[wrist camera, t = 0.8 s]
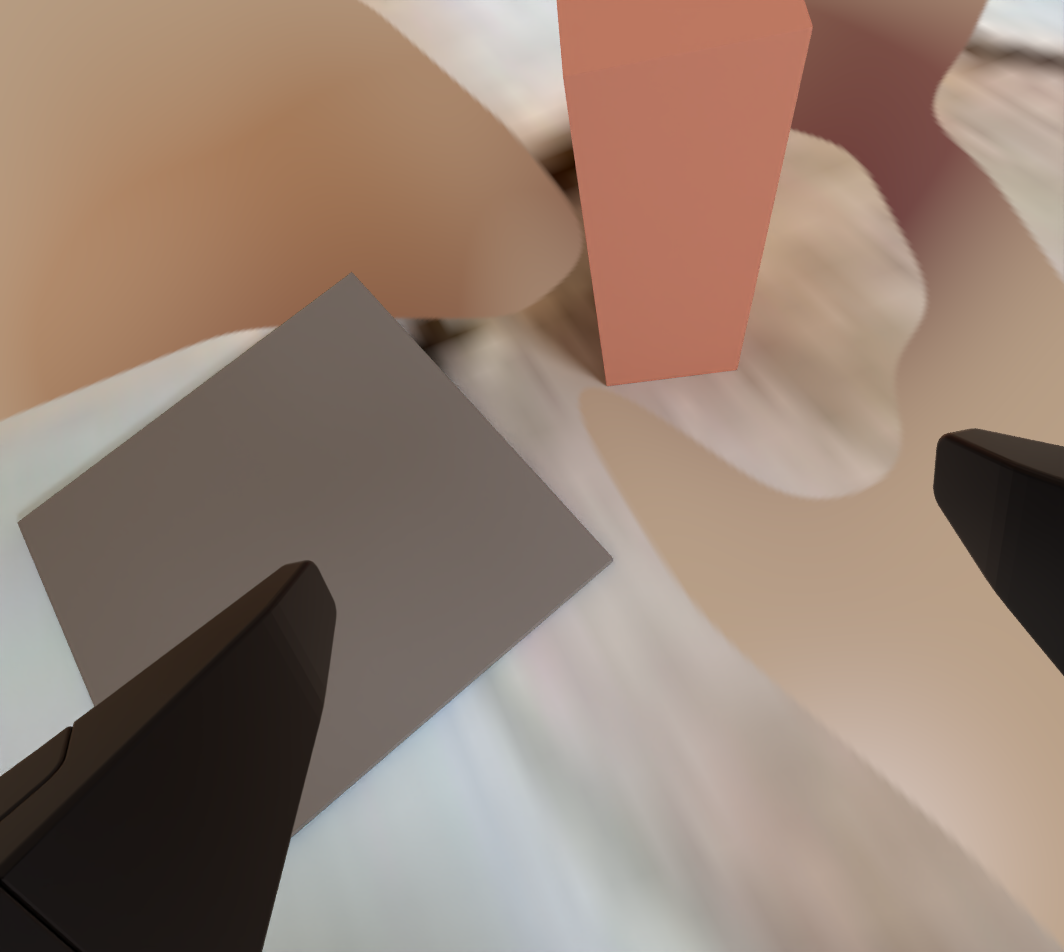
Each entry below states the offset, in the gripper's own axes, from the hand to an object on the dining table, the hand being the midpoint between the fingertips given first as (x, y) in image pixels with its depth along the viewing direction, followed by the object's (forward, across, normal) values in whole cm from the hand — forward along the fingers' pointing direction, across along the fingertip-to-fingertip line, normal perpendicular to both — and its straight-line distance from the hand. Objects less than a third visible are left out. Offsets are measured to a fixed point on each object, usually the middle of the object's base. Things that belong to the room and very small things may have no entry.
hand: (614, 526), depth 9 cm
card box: (+18, -4, +3) cm, 19 cm away
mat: (+13, +13, +7) cm, 19 cm away
